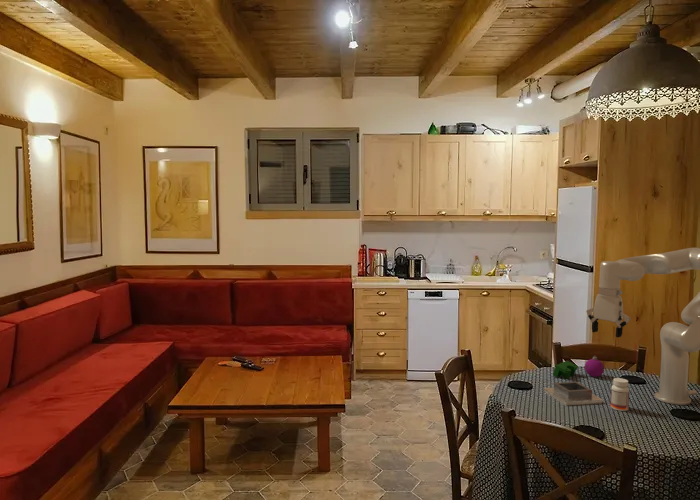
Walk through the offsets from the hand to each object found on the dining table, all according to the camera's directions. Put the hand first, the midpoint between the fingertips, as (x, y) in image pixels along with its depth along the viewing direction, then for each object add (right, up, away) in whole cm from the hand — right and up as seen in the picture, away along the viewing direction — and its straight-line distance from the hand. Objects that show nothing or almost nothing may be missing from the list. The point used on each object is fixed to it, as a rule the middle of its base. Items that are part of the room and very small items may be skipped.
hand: (606, 334), depth 212 cm
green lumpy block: (-3, -25, +32) cm, 40 cm away
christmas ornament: (+10, -25, +32) cm, 41 cm away
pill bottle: (+2, -28, -7) cm, 29 cm away
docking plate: (-12, -27, +5) cm, 29 cm away
